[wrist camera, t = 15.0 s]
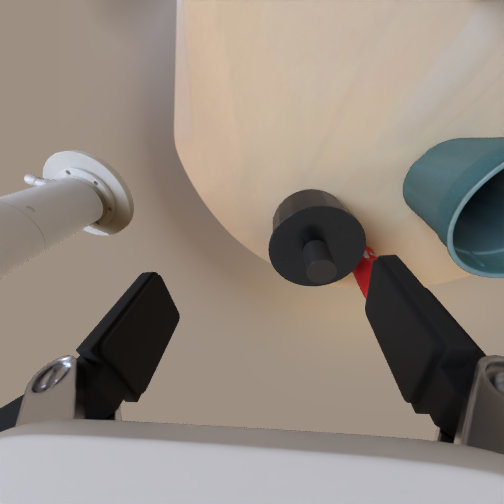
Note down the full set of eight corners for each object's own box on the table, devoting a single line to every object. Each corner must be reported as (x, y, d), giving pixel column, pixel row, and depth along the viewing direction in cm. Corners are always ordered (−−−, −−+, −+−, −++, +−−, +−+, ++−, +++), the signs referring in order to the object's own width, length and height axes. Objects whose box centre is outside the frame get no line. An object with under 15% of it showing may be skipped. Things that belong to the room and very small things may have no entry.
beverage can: (376, 257, 45) (404, 298, 35) (352, 268, 47) (372, 310, 37) (365, 239, 43) (392, 277, 33) (341, 251, 45) (359, 291, 35)
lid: (255, 264, 38) (252, 290, 32) (294, 187, 30) (298, 203, 24) (329, 292, 40) (338, 321, 34) (384, 225, 32) (407, 249, 26)
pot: (262, 238, 45) (259, 265, 37) (292, 177, 38) (296, 194, 30) (320, 261, 47) (329, 291, 39) (359, 206, 39) (379, 229, 31)
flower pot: (366, 201, 39) (414, 247, 25) (445, 98, 30) (582, 85, 17) (438, 236, 41) (518, 296, 28) (530, 151, 32) (712, 176, 19)
